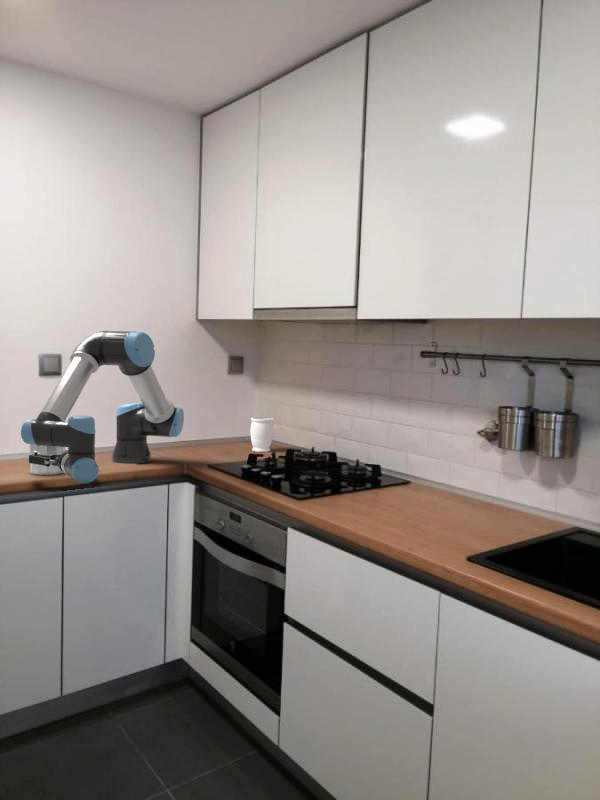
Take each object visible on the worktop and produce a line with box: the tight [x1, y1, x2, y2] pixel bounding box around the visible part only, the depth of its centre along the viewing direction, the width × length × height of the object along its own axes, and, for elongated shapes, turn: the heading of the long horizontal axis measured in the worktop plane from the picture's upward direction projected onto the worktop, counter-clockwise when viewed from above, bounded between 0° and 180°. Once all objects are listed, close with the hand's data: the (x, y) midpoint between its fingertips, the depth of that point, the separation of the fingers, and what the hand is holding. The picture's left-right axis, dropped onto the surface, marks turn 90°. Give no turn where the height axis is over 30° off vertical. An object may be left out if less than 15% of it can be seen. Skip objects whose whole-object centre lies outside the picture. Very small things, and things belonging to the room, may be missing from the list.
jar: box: [250, 416, 274, 453], centre depth 288 cm, size 11×10×15 cm
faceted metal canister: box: [29, 444, 66, 476], centre depth 222 cm, size 11×11×13 cm
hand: (55, 453), depth 214 cm, fingers open, 13 cm apart
